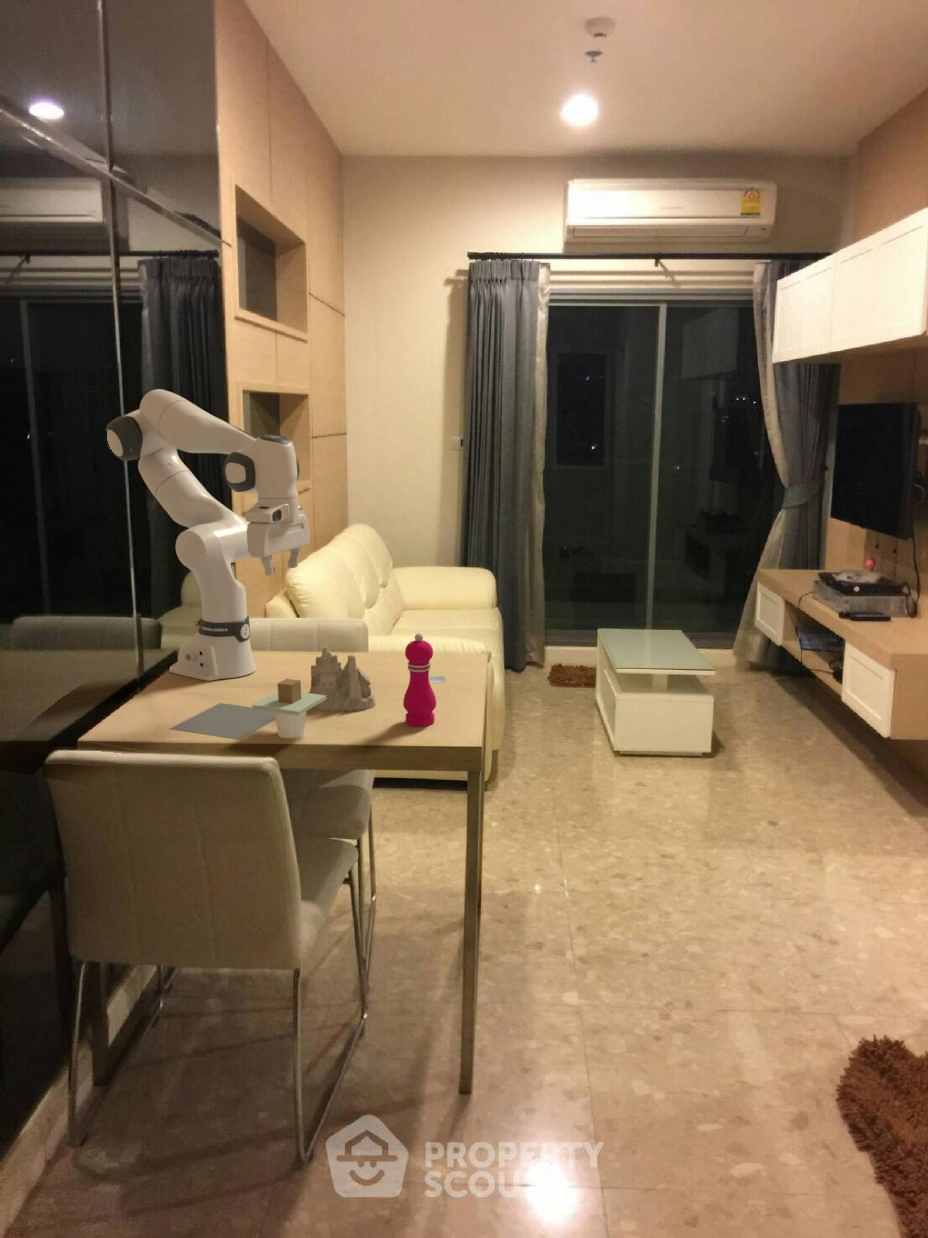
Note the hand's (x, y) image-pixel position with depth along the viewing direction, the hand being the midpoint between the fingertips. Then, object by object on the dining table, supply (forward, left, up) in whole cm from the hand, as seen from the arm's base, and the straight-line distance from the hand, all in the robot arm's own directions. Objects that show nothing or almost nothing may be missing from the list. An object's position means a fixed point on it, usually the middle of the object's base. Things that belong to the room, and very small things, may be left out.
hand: (281, 571), depth 208 cm
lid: (+12, -18, -24) cm, 32 cm away
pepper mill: (+34, -1, -31) cm, 46 cm away
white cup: (+12, -18, -31) cm, 38 cm away
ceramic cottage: (+11, +5, -32) cm, 34 cm away
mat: (-5, -16, -31) cm, 35 cm away
